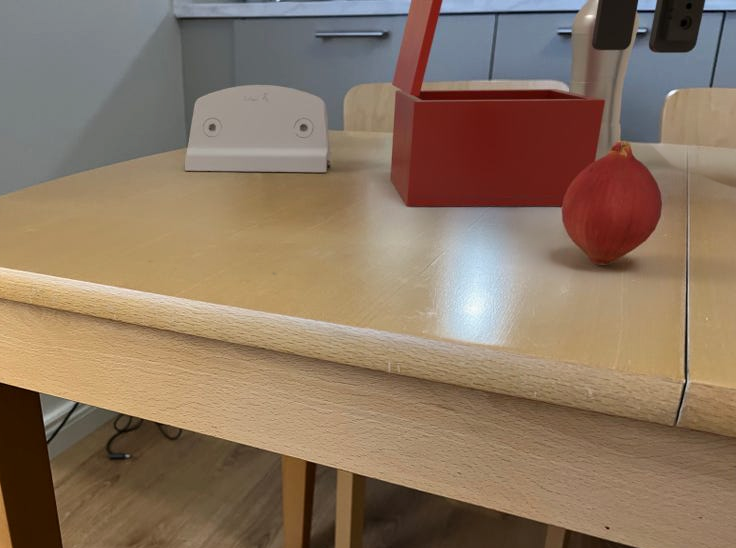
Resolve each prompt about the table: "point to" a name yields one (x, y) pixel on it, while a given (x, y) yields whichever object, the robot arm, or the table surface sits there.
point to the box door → (416, 45)
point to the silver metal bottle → (599, 73)
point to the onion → (612, 206)
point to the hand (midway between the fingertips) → (637, 51)
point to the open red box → (492, 146)
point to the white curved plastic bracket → (259, 131)
